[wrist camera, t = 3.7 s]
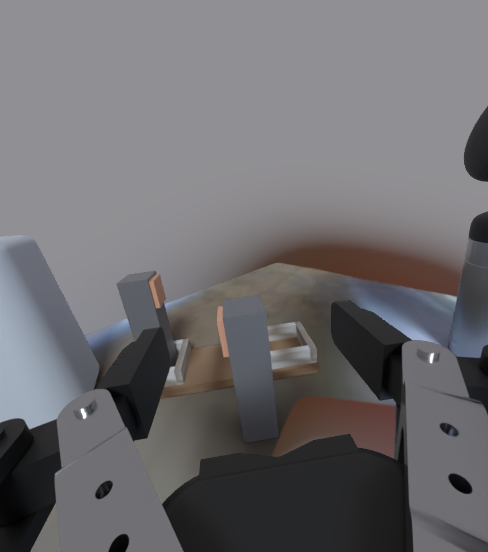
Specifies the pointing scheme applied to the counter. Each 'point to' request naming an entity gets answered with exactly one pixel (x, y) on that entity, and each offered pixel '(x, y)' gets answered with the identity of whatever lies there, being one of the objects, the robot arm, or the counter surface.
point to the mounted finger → (146, 306)
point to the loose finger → (250, 365)
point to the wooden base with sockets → (217, 369)
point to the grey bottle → (38, 339)
